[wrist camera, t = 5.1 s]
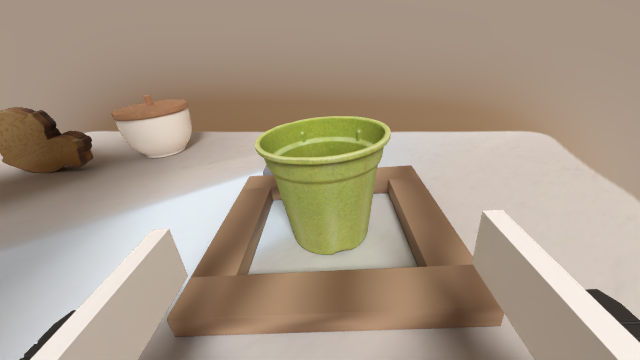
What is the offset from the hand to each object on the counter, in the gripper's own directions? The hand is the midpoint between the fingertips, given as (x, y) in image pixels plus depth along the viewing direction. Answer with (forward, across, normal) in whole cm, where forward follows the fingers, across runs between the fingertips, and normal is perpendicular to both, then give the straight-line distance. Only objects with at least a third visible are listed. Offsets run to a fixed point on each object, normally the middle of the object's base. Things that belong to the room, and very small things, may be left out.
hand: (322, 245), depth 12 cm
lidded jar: (+34, -28, -7) cm, 45 cm away
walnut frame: (+10, 0, -6) cm, 12 cm away
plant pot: (+10, 0, -7) cm, 12 cm away
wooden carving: (+29, -44, -7) cm, 53 cm away
